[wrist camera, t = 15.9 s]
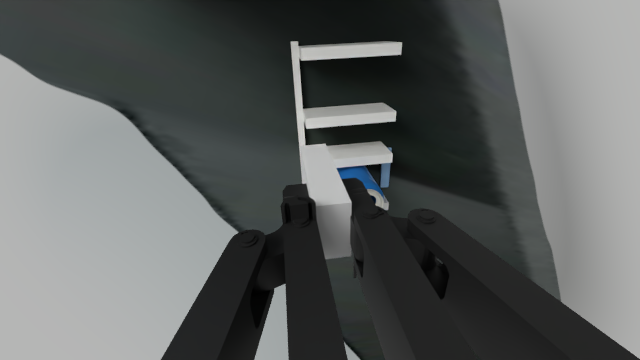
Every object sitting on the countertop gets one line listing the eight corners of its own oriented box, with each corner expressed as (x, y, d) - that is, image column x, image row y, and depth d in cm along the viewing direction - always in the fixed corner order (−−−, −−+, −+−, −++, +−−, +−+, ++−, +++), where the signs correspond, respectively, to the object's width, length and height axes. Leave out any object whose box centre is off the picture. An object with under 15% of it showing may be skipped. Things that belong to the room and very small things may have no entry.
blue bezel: (382, 148, 51) (383, 148, 51) (390, 147, 51) (391, 148, 51) (379, 186, 55) (380, 187, 54) (387, 185, 55) (388, 186, 54)
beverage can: (371, 169, 53) (395, 204, 42) (346, 192, 54) (363, 231, 44) (348, 148, 50) (368, 178, 39) (323, 172, 52) (334, 208, 41)
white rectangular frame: (290, 41, 41) (292, 42, 36) (386, 36, 42) (402, 36, 37) (304, 203, 54) (307, 222, 49) (377, 195, 56) (387, 212, 50)
